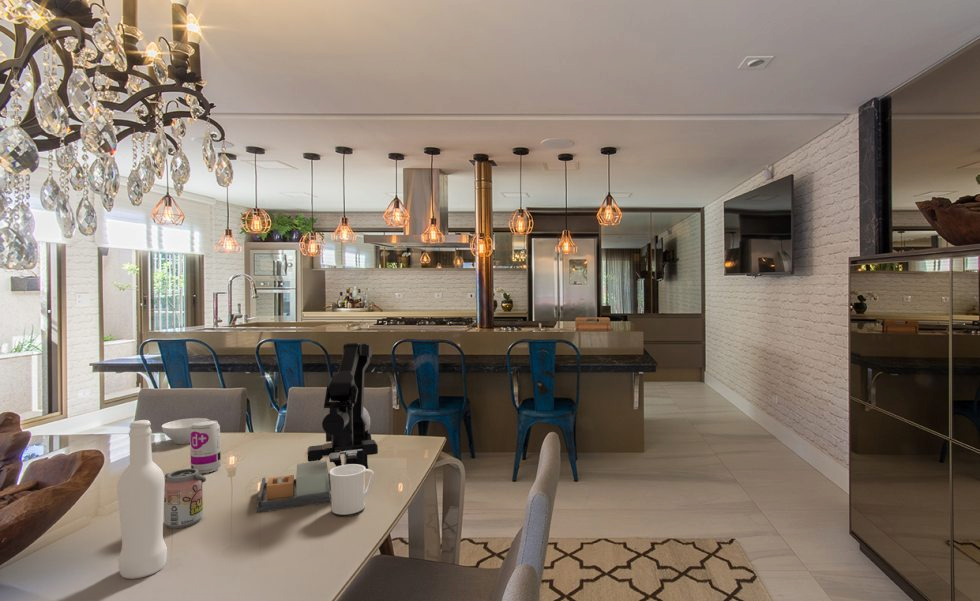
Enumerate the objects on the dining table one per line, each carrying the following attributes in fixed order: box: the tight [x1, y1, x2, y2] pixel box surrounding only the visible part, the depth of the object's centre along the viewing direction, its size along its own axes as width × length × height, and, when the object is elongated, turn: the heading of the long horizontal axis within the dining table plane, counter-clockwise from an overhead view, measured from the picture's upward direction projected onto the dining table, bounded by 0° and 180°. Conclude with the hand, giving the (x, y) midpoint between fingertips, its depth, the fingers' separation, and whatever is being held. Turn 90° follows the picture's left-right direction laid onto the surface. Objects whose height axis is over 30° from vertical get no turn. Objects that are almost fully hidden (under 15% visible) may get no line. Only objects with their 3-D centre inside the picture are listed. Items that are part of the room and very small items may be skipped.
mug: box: [328, 464, 375, 518], centre depth 133 cm, size 11×9×10 cm
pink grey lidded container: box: [163, 468, 207, 529], centre depth 128 cm, size 9×8×12 cm
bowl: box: [161, 417, 210, 445], centre depth 198 cm, size 16×16×7 cm
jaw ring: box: [266, 474, 295, 499], centre depth 142 cm, size 7×7×4 cm
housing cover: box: [295, 459, 329, 496], centre depth 144 cm, size 8×12×6 cm, turn 19°
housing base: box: [256, 477, 332, 513], centre depth 143 cm, size 18×16×5 cm
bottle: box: [116, 419, 168, 580], centre depth 105 cm, size 8×8×30 cm
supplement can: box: [189, 419, 222, 475], centre depth 165 cm, size 8×8×15 cm
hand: (343, 480), depth 147 cm, fingers closed
